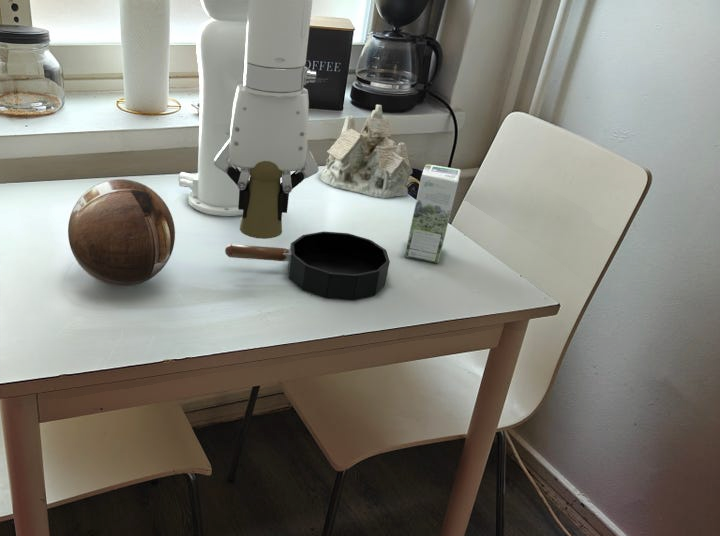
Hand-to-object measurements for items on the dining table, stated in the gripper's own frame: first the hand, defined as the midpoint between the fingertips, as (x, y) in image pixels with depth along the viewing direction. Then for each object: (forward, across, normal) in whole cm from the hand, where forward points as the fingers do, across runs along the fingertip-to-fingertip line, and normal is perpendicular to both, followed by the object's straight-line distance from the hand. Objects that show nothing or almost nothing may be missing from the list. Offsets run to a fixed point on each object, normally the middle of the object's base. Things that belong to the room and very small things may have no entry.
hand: (262, 214), depth 99 cm
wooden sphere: (+12, +20, 0) cm, 23 cm away
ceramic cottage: (+12, -21, -49) cm, 55 cm away
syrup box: (+12, -28, -17) cm, 35 cm away
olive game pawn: (+2, 0, 0) cm, 2 cm away
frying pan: (+12, -7, -7) cm, 16 cm away
